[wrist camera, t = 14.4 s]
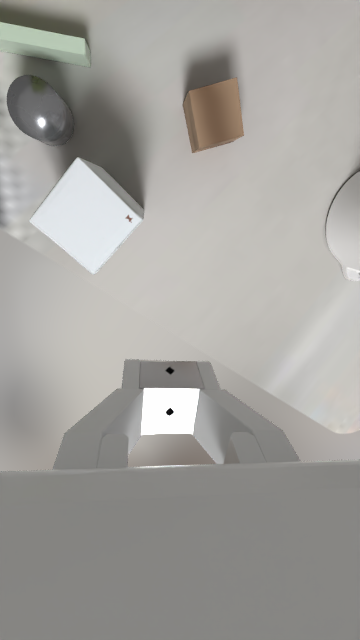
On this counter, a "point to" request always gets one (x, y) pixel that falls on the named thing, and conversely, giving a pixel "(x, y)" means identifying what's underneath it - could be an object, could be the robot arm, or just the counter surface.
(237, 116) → the walnut block
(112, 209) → the supplement box
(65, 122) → the metal tin
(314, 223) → the counter surface
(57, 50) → the corral
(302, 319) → the counter surface
